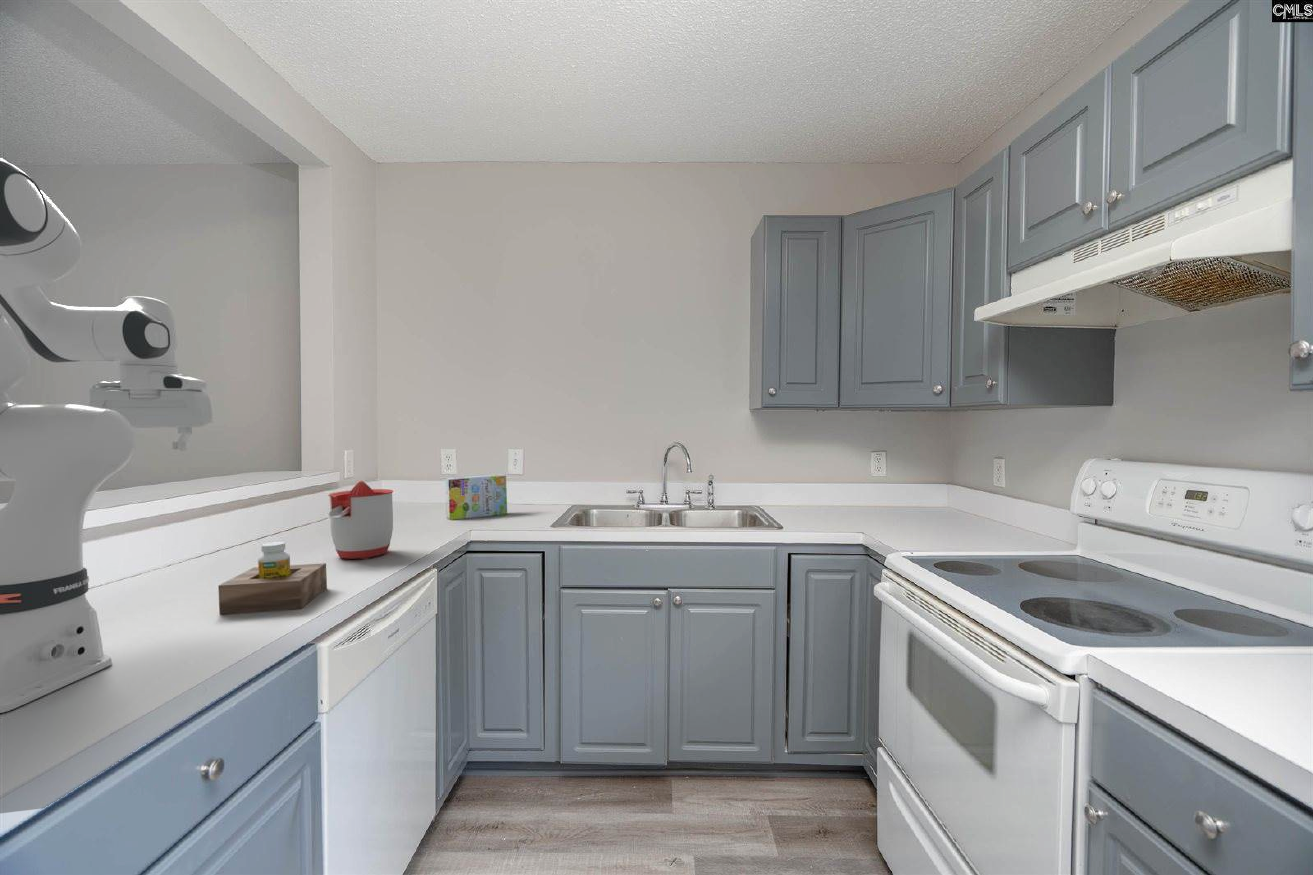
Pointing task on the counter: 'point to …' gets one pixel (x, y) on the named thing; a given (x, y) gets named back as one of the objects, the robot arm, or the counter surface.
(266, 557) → the supplement bottle
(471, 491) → the snack box
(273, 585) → the socket block
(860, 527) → the counter surface
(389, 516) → the citrus juicer
